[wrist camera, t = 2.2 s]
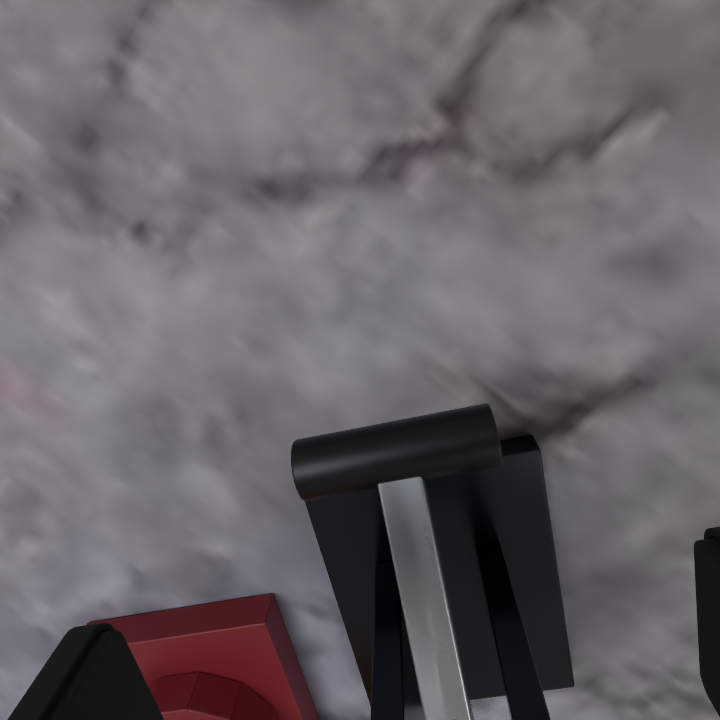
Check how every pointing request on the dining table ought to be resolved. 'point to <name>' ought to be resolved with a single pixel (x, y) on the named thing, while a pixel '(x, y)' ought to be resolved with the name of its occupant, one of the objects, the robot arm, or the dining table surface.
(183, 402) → the dining table surface
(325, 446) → the switch lever
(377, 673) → the switch bracket
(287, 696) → the button base
